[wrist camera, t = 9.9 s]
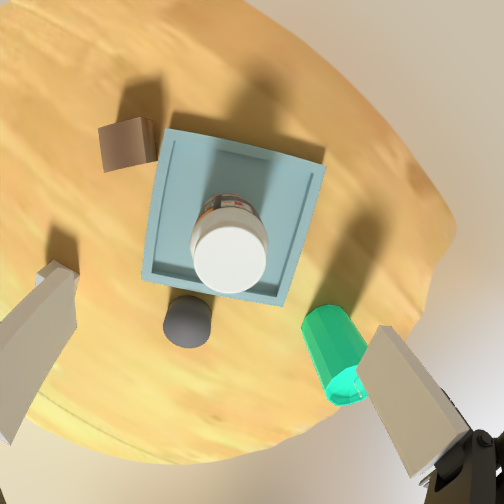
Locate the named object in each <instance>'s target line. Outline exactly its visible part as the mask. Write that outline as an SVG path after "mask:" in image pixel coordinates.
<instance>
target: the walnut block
mask: <svg viewBox="0 0 504 504" xmlns="http://www.w3.org/2000/svg"><path fill="white" fill-rule="evenodd" d="M98 132H99V140H100V148H101V155H102V162H103V169H104V173H105V172H109V171H113V170H117V169H122V168H126V167H130V166H135V165H139V164H144V163H149V162H154V161H158V160H157V153H156V146H155V138H154V130H153V122H152V120H149V119H146V118H143V117H137V118H133V119H129V120H125V121H122V122H118V123H114V124H111V125H107V126H104V127H101V128H98Z"/></svg>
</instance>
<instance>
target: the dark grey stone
mask: <svg viewBox="0 0 504 504" xmlns="http://www.w3.org/2000/svg"><path fill="white" fill-rule="evenodd" d="M163 330H164V333H165V335H166V337H167V338H168V339H169V340H170V341H171V342H172V343H173V344H175V345H177V346H180V347H183V348H196V347H199V346H201V345H203V344H204V343H205V342H206V341H207V340H208V338H209V336H210V331H211V310H210V308H209V306H208V305H207V304H206V303H205V302H204V301H203V300H201V299H199V298H197V297H194V296H181V297H178V298H176V299H175V300H173V301H172V302H171V303H170V305H169V307H168V310H167V313H166V317H165V320H164V323H163Z"/></svg>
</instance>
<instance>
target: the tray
mask: <svg viewBox="0 0 504 504" xmlns="http://www.w3.org/2000/svg"><path fill="white" fill-rule="evenodd" d="M325 170H326V166H324V165H321V164H318V163H314V162H311V161H308V160H305V159H301V158H298V157H294V156H291V155H287V154H284V153H280V152H276V151H272V150H269V149H265V148H261V147H257V146H253V145H249V144H244V143H240V142H236V141H231V140H227V139H222V138H217V137H212V136H208V135H202V134H197V133H192V132H186V131H181V130H175V129H169V128H165V133H164V137H163V141H162V146H161V151H160V155H159V160H158V165H157V170H156V175H155V181H154V186H153V192H152V198H151V204H150V211H149V217H148V224H147V232H146V240H145V248H144V257H143V266H142V277H141V280H144V281H148V282H153V283H158V284H162V285H167V286H172V287H176V288H181V289H186V290H191V291H196V292H201V293H206V294H212V295H217V296H222V297H228V298H233V299H239V300H244V301H250V302H256V303H262V304H268V305H274V306H280V307H283V305H284V302H285V299H286V297H287V294H288V291H289V288H290V285H291V282H292V279H293V276H294V272H295V269H296V266H297V263H298V260H299V257H300V254H301V251H302V248H303V244H304V241H305V238H306V235H307V231H308V228H309V225H310V222H311V218H312V215H313V212H314V208H315V205H316V201H317V198H318V195H319V191H320V188H321V184H322V181H323V177H324V173H325ZM222 193H236V194H239V195H241V196H243V197H245V198H247V199H248V200H249V201H250V202H251V203H252V204H253V206H254V207H255V209H256V210H257V212H258V215H259V217H260V219H261V221H262V223H263V225H264V227H265V230H266V232H267V236H268V250H267V255H266V256H267V262H266V268H265V271H264V273H263V275H262V276H261V278H260V279H259V281H258V282H257V283H256V284H255V285H253V286H252V287H250V288H249V289H247V290H245V291H242V292H238V293H221V292H218V291H215V290H213V289H211V288H209V287H208V286H206V285H205V284H204V283H203V282H202V281H201V280H200V278H199V277H198V275H197V273H196V271H195V268H194V264H193V258H192V255H191V251H190V237H191V234H192V231H193V228H194V225H195V223H196V220H197V218H198V215H199V212H200V210H201V208H202V207H203V205H204V204H205V203H206V202H207V201H208V200H209V199H210V198H212V197H214V196H216V195H218V194H222Z"/></svg>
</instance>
